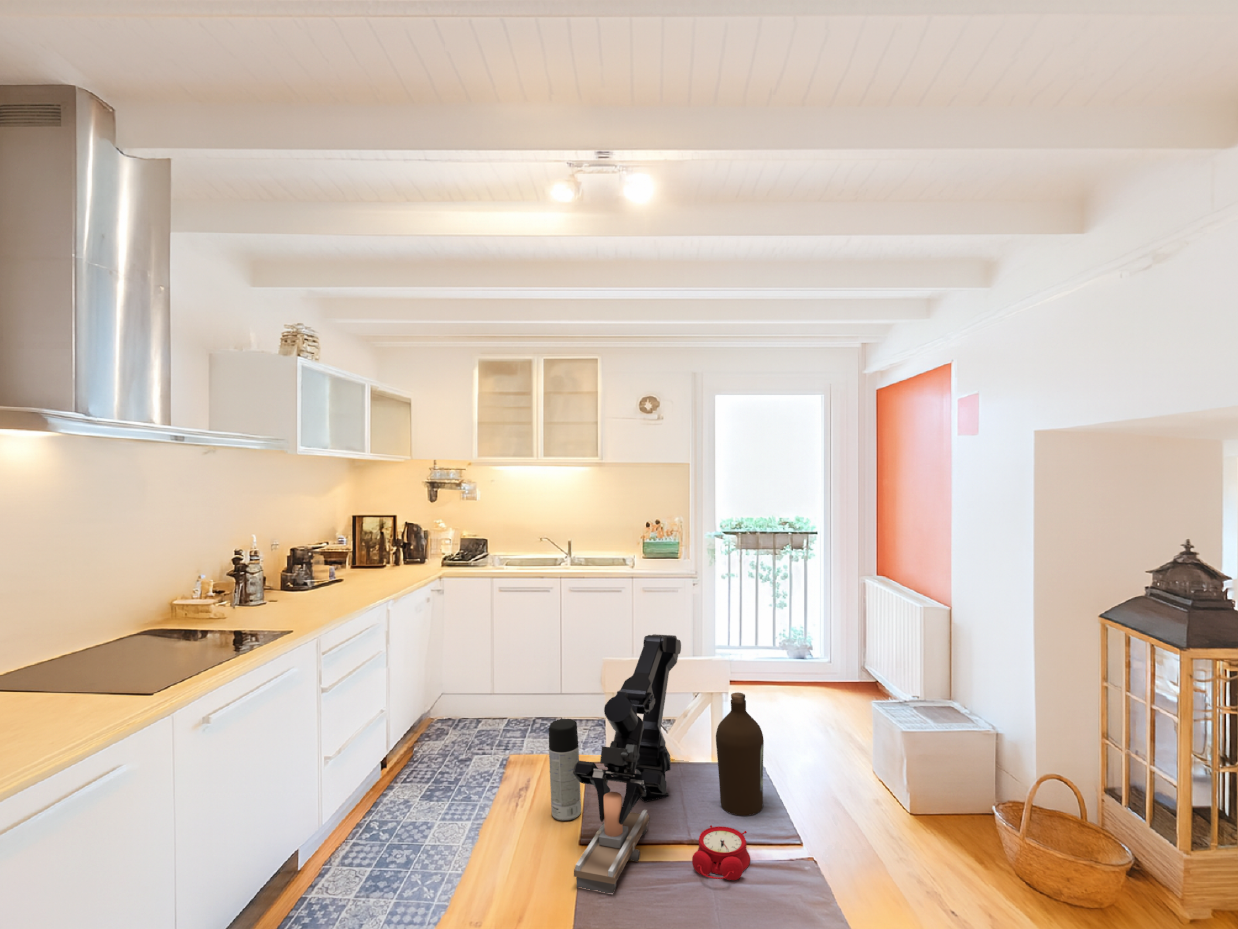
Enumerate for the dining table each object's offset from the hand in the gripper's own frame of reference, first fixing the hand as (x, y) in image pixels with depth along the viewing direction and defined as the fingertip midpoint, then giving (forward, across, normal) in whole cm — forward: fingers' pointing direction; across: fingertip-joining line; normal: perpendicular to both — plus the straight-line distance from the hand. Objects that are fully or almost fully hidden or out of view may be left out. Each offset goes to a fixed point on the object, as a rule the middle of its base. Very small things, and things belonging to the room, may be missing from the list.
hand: (610, 822), depth 128 cm
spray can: (-4, -16, +15) cm, 22 cm away
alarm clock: (+2, +21, +9) cm, 23 cm away
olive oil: (-14, +21, +25) cm, 36 cm away
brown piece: (+4, 0, +6) cm, 8 cm away
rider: (+2, 0, +4) cm, 4 cm away
